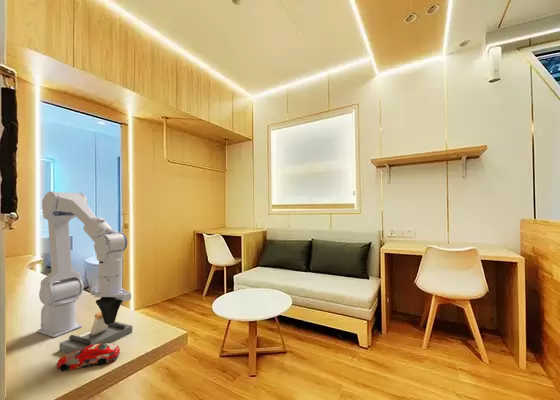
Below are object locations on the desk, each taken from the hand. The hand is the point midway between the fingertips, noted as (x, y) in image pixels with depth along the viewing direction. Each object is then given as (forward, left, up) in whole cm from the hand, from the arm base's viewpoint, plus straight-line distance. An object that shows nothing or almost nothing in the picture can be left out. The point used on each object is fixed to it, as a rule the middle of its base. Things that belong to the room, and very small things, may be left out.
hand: (109, 322), depth 75 cm
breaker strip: (-5, 0, -6) cm, 8 cm away
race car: (+4, -8, -6) cm, 11 cm away
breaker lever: (-5, 0, -3) cm, 6 cm away
